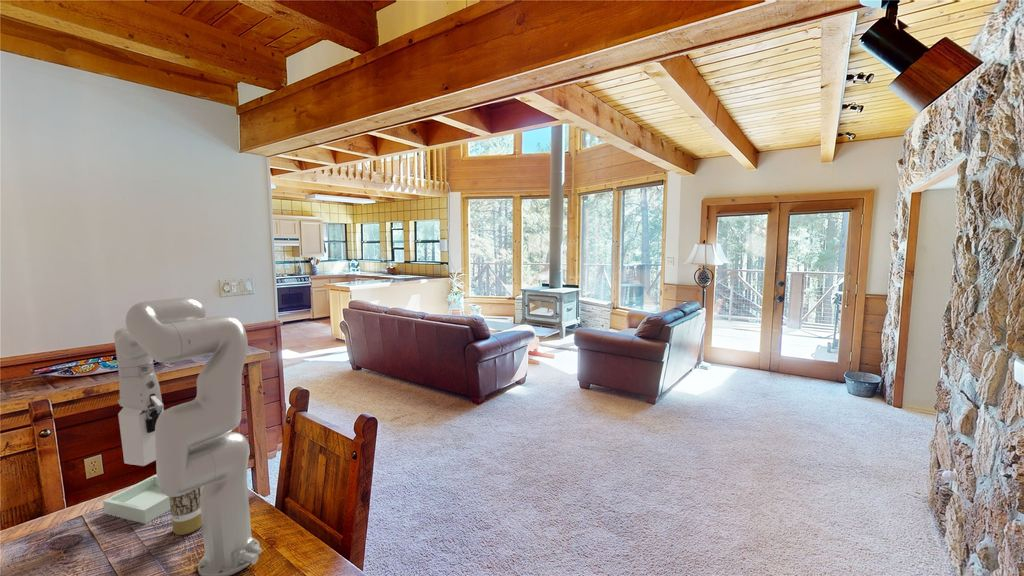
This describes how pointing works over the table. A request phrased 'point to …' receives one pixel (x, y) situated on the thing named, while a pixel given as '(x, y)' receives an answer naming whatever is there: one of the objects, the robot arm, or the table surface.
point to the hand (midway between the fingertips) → (143, 428)
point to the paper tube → (186, 512)
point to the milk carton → (136, 437)
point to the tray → (139, 502)
